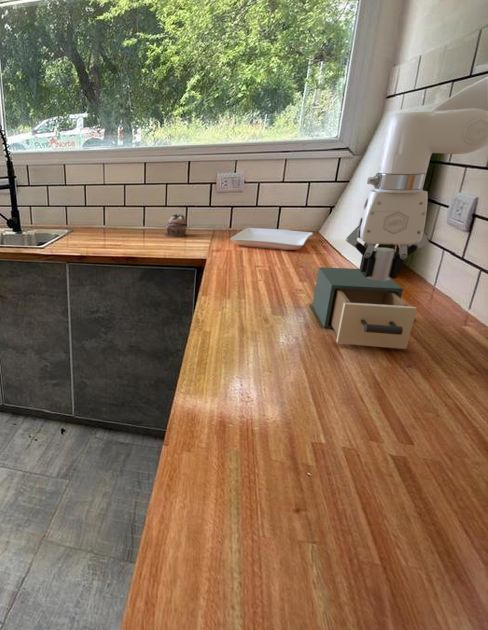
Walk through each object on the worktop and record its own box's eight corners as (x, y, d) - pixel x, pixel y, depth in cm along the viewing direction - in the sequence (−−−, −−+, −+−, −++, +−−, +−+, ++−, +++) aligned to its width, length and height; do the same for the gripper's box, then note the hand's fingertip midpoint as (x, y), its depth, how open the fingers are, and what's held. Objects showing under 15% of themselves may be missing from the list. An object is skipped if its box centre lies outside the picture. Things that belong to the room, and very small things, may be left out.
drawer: (415, 359, 87) (426, 317, 83) (342, 353, 90) (350, 312, 87) (383, 322, 104) (392, 286, 100) (323, 318, 107) (330, 283, 104)
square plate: (228, 247, 184) (229, 237, 183) (246, 235, 205) (247, 226, 203) (301, 253, 169) (302, 243, 168) (312, 240, 190) (314, 231, 189)
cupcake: (186, 233, 213) (187, 212, 209) (186, 238, 204) (187, 215, 201) (165, 233, 215) (166, 212, 211) (165, 237, 206) (166, 215, 203)
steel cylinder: (392, 281, 90) (399, 252, 87) (369, 280, 91) (375, 251, 89) (385, 276, 93) (392, 247, 91) (363, 275, 94) (369, 247, 92)
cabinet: (392, 333, 100) (403, 288, 96) (323, 328, 104) (331, 285, 100) (371, 310, 114) (380, 269, 110) (312, 306, 118) (318, 267, 114)
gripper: (354, 185, 84) (336, 278, 91) (461, 184, 79) (434, 283, 86) (344, 181, 91) (328, 269, 97) (443, 181, 86) (419, 273, 93)
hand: (378, 275), depth 92 cm, fingers closed on steel cylinder, 4 cm apart
